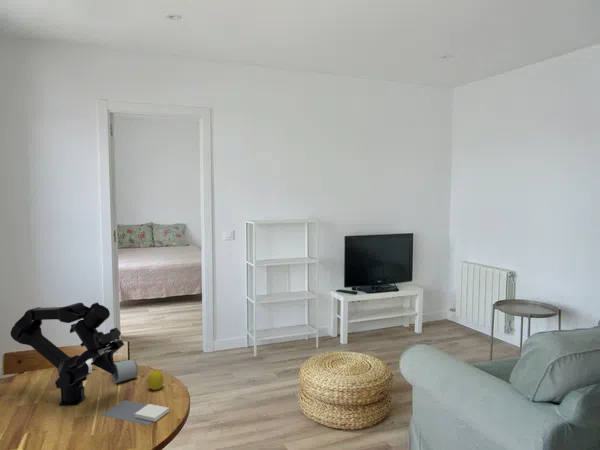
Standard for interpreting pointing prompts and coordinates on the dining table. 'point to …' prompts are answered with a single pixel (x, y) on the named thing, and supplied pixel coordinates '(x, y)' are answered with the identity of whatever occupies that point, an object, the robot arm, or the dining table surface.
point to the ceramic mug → (125, 371)
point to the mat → (127, 412)
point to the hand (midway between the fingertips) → (114, 373)
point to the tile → (151, 412)
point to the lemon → (155, 380)
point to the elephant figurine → (89, 364)
